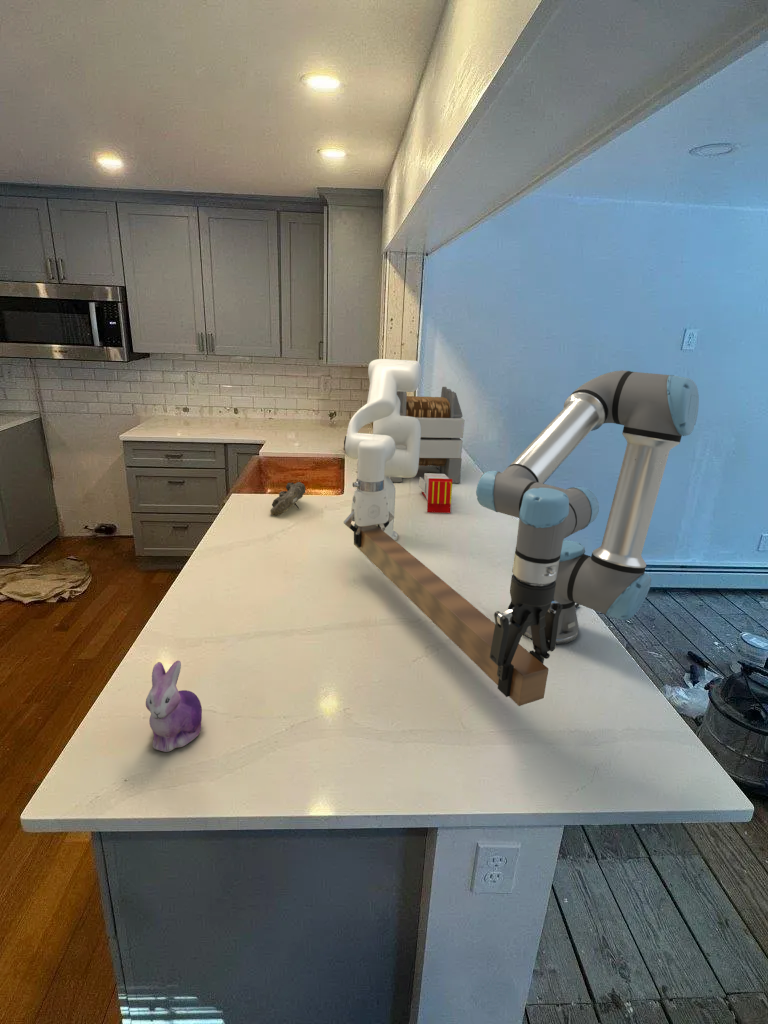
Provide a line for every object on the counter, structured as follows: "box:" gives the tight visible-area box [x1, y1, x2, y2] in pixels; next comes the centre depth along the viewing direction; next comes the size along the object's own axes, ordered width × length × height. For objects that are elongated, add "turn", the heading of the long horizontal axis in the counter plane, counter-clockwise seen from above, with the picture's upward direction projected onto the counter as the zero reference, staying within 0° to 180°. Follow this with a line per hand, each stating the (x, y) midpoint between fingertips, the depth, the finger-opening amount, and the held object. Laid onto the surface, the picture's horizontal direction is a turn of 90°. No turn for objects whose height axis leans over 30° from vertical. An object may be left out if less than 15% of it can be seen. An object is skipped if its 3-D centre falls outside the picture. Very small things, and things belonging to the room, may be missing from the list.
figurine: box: [145, 660, 203, 753], centre depth 100 cm, size 9×10×15 cm
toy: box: [418, 472, 453, 514], centre depth 233 cm, size 12×13×30 cm
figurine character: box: [343, 435, 346, 452], centre depth 308 cm, size 7×8×15 cm
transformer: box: [389, 386, 465, 484], centre depth 268 cm, size 34×33×41 cm
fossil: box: [270, 481, 307, 517], centre depth 218 cm, size 22×10×15 cm
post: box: [353, 525, 549, 707], centre depth 135 cm, size 78×6×6 cm, turn 25°
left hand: (368, 543), depth 164 cm, fingers closed on post, 5 cm apart
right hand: (517, 687), depth 106 cm, fingers closed on post, 6 cm apart
